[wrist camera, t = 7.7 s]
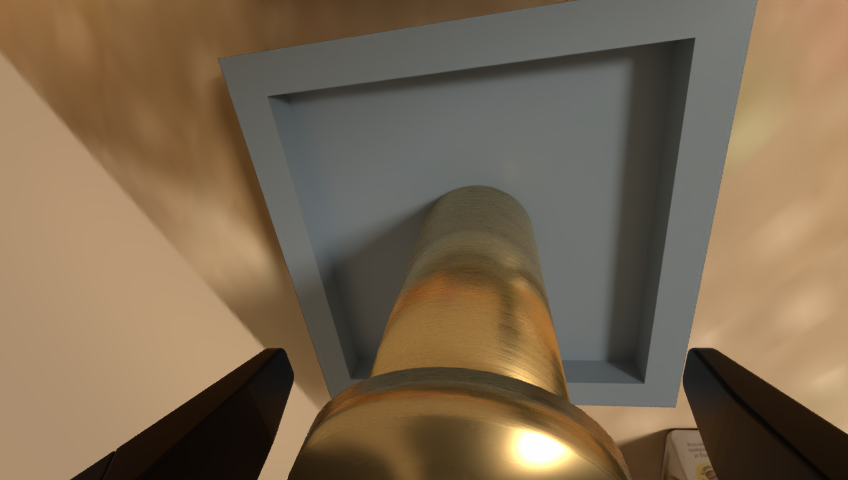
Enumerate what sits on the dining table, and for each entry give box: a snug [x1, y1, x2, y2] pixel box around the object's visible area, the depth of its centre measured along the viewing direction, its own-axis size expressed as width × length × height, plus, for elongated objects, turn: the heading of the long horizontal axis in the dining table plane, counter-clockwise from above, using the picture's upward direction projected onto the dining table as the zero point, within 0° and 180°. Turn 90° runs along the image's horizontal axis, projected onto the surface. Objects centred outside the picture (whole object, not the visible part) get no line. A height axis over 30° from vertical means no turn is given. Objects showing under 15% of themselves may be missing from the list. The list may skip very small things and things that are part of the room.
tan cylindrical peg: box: [287, 185, 632, 480], centre depth 10 cm, size 5×5×10 cm
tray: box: [218, 0, 757, 408], centre depth 14 cm, size 14×14×2 cm
